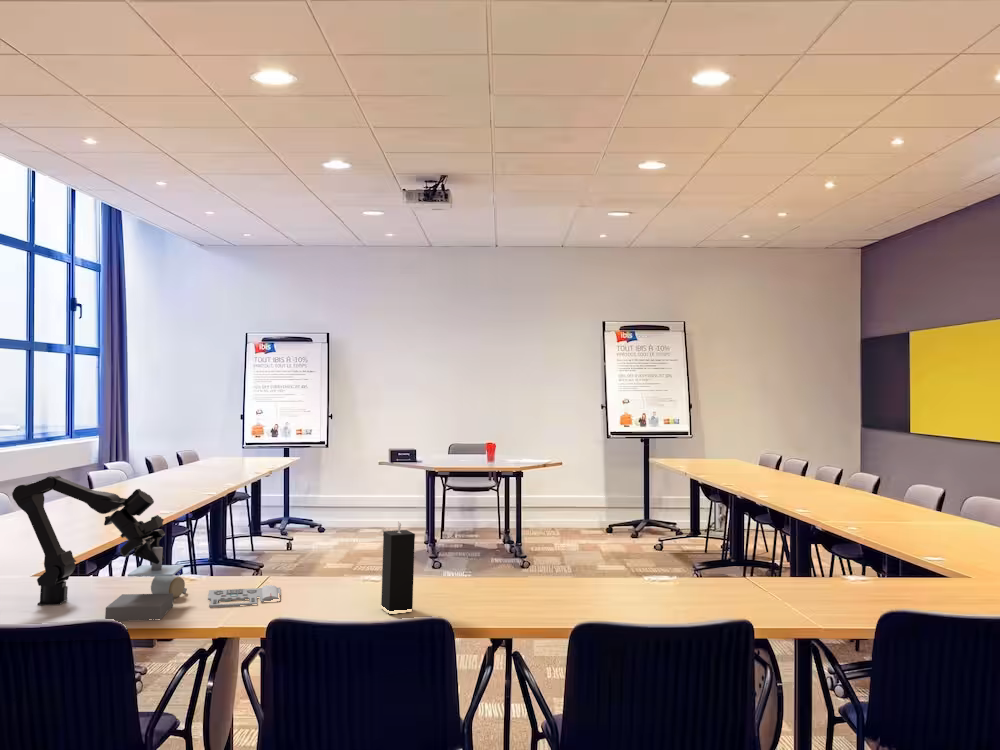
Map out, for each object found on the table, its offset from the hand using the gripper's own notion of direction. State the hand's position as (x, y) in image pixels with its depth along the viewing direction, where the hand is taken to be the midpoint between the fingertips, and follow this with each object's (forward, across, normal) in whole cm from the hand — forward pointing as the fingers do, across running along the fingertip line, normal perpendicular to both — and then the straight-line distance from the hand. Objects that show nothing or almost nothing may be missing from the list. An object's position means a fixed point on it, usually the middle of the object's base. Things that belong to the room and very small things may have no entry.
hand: (161, 561), depth 234 cm
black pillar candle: (+63, +1, -44) cm, 77 cm away
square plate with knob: (+1, 0, +3) cm, 3 cm away
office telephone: (+26, +11, -7) cm, 29 cm away
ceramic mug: (+9, +11, +11) cm, 17 cm away
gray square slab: (+9, -10, +10) cm, 17 cm away
